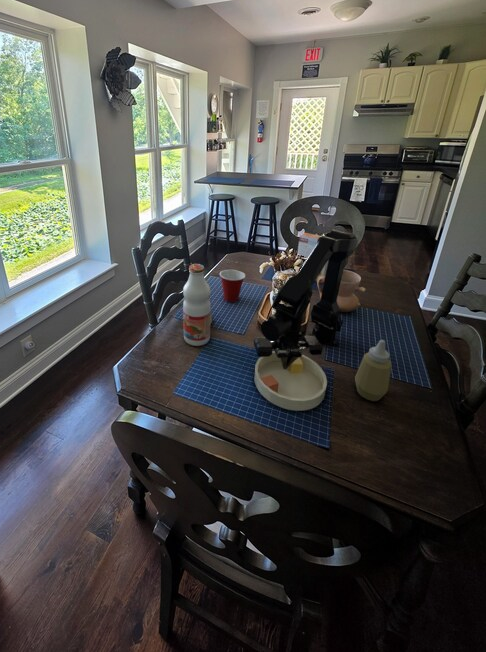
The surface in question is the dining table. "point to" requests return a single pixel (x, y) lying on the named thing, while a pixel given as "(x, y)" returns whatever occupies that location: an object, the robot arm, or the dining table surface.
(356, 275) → the ceramic jug
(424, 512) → the dining table surface
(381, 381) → the squeeze bottle
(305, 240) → the cracker box
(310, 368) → the bowl
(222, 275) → the plastic cup
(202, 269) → the fruit juice
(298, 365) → the mustard block
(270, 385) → the terracotta block
